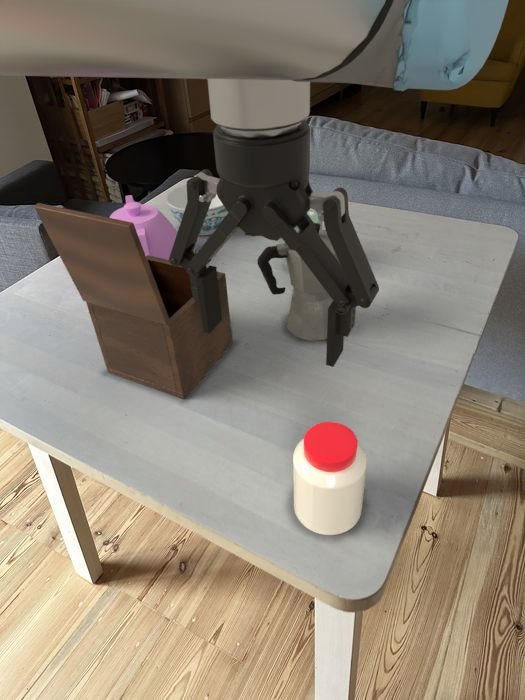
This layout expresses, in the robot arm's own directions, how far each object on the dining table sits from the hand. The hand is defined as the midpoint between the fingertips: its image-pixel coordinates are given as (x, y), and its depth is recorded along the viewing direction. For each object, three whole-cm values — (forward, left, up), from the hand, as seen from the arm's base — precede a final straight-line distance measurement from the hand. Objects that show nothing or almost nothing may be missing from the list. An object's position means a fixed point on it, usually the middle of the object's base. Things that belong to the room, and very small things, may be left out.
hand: (271, 341), depth 54 cm
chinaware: (+52, +43, -20) cm, 70 cm away
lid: (+4, +24, +2) cm, 24 cm away
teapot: (+35, +47, -20) cm, 62 cm away
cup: (+45, +17, -20) cm, 52 cm away
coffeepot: (+28, +8, -20) cm, 35 cm away
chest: (+12, +24, -19) cm, 33 cm away
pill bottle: (-3, -8, -20) cm, 21 cm away
